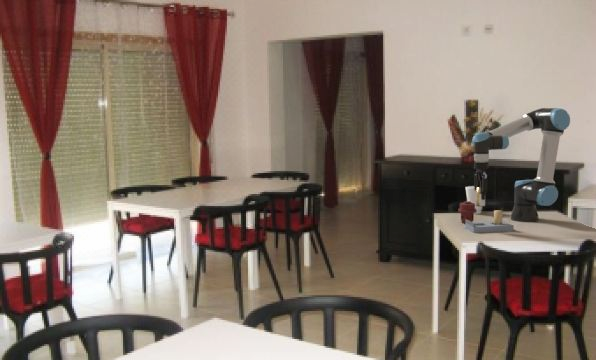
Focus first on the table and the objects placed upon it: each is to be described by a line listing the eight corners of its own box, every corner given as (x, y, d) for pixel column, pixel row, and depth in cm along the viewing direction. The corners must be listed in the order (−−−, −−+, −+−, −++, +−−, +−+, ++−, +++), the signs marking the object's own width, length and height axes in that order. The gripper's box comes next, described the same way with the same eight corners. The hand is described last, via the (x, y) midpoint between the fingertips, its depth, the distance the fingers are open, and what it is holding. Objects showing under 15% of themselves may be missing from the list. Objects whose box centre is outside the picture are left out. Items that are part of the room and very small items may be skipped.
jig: (503, 226, 346) (504, 208, 344) (513, 230, 334) (513, 212, 332) (465, 228, 343) (465, 210, 342) (473, 232, 332) (473, 214, 330)
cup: (487, 214, 381) (487, 188, 379) (467, 214, 381) (468, 188, 379) (481, 211, 393) (482, 185, 391) (462, 211, 393) (463, 186, 391)
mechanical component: (475, 221, 361) (476, 225, 351) (457, 221, 363) (458, 224, 353) (475, 200, 359) (477, 203, 349) (457, 200, 361) (458, 203, 351)
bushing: (474, 205, 338) (475, 187, 337) (482, 205, 339) (483, 186, 337) (478, 206, 334) (478, 188, 333) (486, 206, 334) (486, 187, 333)
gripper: (468, 160, 342) (467, 202, 344) (480, 163, 324) (479, 207, 327) (481, 159, 342) (480, 201, 345) (494, 162, 325) (493, 207, 328)
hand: (480, 204), depth 336 cm, fingers closed on bushing, 4 cm apart
